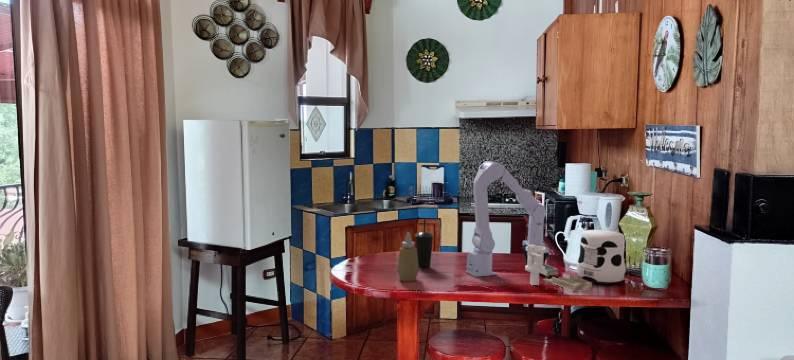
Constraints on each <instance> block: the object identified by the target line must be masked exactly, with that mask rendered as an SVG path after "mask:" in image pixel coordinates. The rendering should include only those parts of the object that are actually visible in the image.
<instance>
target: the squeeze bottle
mask: <svg viewBox="0 0 794 360" xmlns="http://www.w3.org/2000/svg"><path fill="white" fill-rule="evenodd" d="M415 245H416V241H412V235H411V232H406V235H405V239H404V241H402V243H401V247H400V248H399V254H398V261H397V262H398V263H397V273H398V277H399V279H400V281H403V282H413V281H416V280H417V277H418V274H419V270H420V268H419V267H418V256H417V247H415Z"/></svg>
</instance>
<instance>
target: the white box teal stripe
mask: <svg viewBox="0 0 794 360" xmlns="http://www.w3.org/2000/svg"><path fill="white" fill-rule="evenodd" d="M543 266H544V267H545V271H544V272H539V275H541V274H542V275H544V277H545V279H548V278H550V276H552V277H555V278H556V277H558V273H559V272H558V271H559V268H557V267H554V266H551V265H549V264H544V265H543Z"/></svg>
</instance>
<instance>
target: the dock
mask: <svg viewBox="0 0 794 360" xmlns="http://www.w3.org/2000/svg"><path fill="white" fill-rule="evenodd" d="M557 277H558V278H556V277H553V276H552V277H549V278H550V279H548V278H542V279H543V281H544V280H545V282H546V281H548V282H547V283H549V282H550V283H549V284H551V285H554V284H555V285H554V286H556V285H558V286H561V287H563V288H565V289H567V290H570V291H576V292H579V291H578V290H584V291H589V290H588V289H592V290H593V282H589V281H586V280H584V279H582V278H580V277H579V276H576V275H574V274H569V277H563V276H557ZM558 286H557V287H558ZM561 287H560V288H561ZM563 288H562V289H563ZM565 289H564V290H565ZM567 290H566V291H567ZM570 291H569V292H570Z"/></svg>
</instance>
